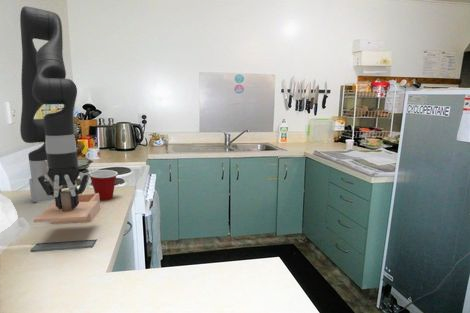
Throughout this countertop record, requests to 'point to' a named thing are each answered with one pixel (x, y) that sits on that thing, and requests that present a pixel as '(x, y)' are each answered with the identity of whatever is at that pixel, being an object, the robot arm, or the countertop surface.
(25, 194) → the countertop surface
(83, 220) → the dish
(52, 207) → the lid
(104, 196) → the plastic cup
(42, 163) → the robot arm
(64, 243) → the mat
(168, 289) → the countertop surface
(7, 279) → the countertop surface
